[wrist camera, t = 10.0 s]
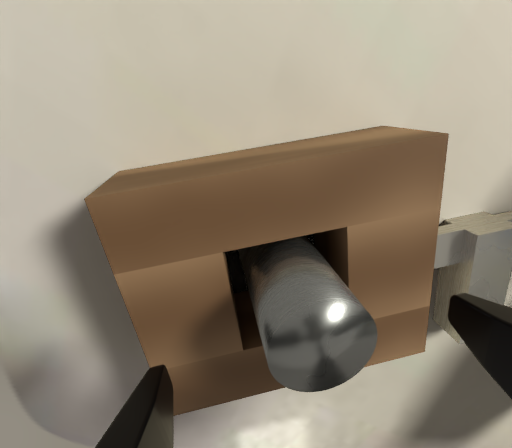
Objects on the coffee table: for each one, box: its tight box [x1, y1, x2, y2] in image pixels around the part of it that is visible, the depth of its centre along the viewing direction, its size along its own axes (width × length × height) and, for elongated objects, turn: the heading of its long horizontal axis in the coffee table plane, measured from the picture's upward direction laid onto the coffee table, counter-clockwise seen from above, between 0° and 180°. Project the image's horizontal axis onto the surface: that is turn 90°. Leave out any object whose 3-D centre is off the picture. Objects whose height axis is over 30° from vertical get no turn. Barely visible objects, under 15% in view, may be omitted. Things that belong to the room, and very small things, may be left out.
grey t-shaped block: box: [433, 211, 512, 344], centre depth 17 cm, size 7×6×2 cm
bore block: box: [84, 126, 449, 416], centre depth 13 cm, size 10×12×4 cm
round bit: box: [238, 235, 378, 392], centre depth 12 cm, size 3×3×7 cm
